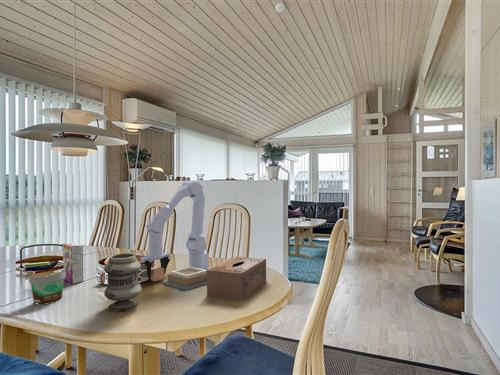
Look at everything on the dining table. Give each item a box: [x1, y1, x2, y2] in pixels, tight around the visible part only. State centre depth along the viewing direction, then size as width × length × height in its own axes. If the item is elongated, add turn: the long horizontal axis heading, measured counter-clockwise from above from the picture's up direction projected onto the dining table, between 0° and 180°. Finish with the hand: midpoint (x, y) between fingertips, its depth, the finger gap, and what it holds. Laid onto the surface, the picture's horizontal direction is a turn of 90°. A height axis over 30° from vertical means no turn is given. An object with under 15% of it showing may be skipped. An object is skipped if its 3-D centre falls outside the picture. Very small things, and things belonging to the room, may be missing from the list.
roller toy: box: [99, 271, 105, 285], centre depth 144 cm, size 4×6×6 cm
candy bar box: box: [62, 242, 84, 285], centre depth 148 cm, size 11×5×16 cm, turn 47°
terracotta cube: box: [150, 266, 165, 282], centre depth 150 cm, size 5×5×5 cm
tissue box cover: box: [206, 256, 267, 301], centre depth 135 cm, size 26×14×10 cm, turn 157°
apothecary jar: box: [103, 252, 142, 313], centre depth 115 cm, size 12×12×18 cm
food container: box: [28, 269, 66, 305], centre depth 122 cm, size 12×6×10 cm, turn 148°
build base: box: [162, 266, 207, 291], centre depth 144 cm, size 16×16×5 cm
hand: (156, 275), depth 150 cm, fingers open, 7 cm apart
